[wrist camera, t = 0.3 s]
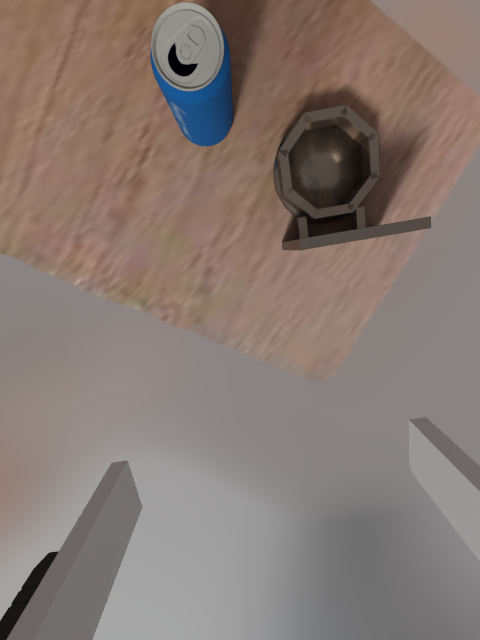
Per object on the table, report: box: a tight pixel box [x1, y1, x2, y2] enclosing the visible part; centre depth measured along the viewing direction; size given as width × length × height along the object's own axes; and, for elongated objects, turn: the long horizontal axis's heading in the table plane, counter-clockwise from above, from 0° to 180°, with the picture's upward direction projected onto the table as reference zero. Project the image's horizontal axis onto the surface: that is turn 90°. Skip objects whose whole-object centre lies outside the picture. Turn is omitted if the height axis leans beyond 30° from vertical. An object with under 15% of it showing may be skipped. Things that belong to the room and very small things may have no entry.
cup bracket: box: [274, 105, 431, 250], centre depth 30 cm, size 14×12×11 cm
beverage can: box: [151, 2, 233, 146], centre depth 27 cm, size 6×6×12 cm
